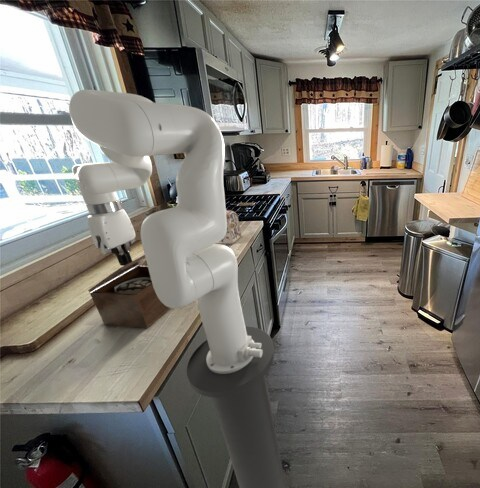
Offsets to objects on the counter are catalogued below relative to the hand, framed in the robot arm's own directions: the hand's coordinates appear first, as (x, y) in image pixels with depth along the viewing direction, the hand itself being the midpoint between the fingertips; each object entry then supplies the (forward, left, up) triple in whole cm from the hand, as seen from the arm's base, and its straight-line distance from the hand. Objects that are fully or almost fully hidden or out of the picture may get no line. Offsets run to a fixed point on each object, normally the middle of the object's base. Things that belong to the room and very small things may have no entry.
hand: (126, 264), depth 82 cm
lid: (-1, 0, -1) cm, 2 cm away
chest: (-2, 0, -17) cm, 17 cm away
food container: (-2, 0, -16) cm, 16 cm away
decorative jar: (+2, -62, -17) cm, 64 cm away
